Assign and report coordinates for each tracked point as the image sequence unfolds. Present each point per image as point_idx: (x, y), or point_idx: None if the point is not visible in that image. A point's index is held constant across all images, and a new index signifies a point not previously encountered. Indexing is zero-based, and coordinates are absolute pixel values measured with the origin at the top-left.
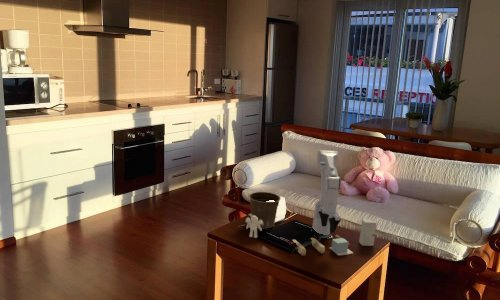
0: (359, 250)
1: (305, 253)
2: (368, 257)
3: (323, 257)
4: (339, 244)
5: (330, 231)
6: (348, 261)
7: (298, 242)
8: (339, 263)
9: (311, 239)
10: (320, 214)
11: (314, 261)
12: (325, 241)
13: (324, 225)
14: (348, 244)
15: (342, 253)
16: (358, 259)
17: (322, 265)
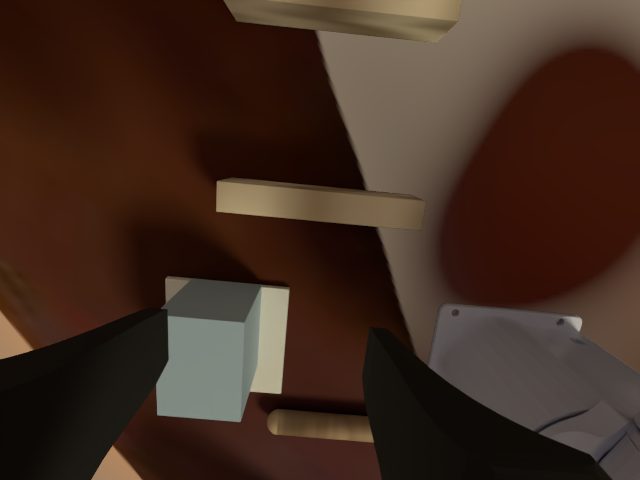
0: (203, 440)
1: (232, 13)
2: None
3: (166, 150)
4: None
5: (143, 311)
6: (73, 284)
7: (381, 12)
8: (54, 206)
9: (405, 198)
10: (466, 438)
11: (117, 32)
12: (395, 325)
13: (367, 361)
14: (268, 424)
15: None
16: None
17: (42, 56)
